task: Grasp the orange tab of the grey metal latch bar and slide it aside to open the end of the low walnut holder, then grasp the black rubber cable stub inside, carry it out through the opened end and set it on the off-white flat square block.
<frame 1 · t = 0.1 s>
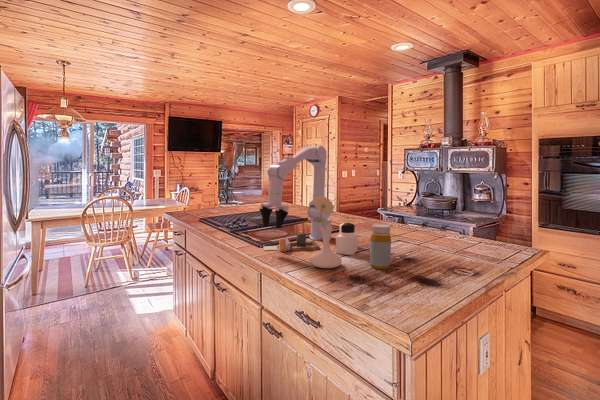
hand: (272, 227, 139), 10 cm above the counter, tool pointing down, fingers open, 7 cm apart
off-white flat square block: (270, 248, 145), on the counter
latch bar: (283, 242, 145), point 3 cm above the counter, slide at 0.0 cm
medicine bottle: (346, 252, 140), on the counter
walnut holder: (303, 247, 148), on the counter
flower in vase: (324, 265, 123), on the counter
bottle: (379, 267, 121), on the counter
cable stub: (301, 247, 148), resting in walnut holder
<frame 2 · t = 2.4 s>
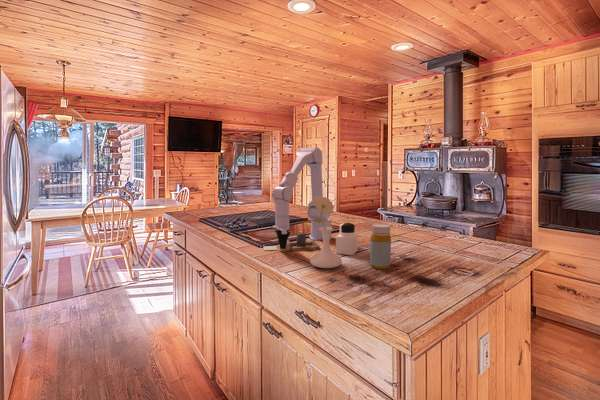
hand: (282, 247, 142), 1 cm above the counter, tool pointing down, fingers closed on latch bar, 3 cm apart
latch bar: (283, 242, 145), point 3 cm above the counter, slide at 0.0 cm, touching gripper
everything else where it was.
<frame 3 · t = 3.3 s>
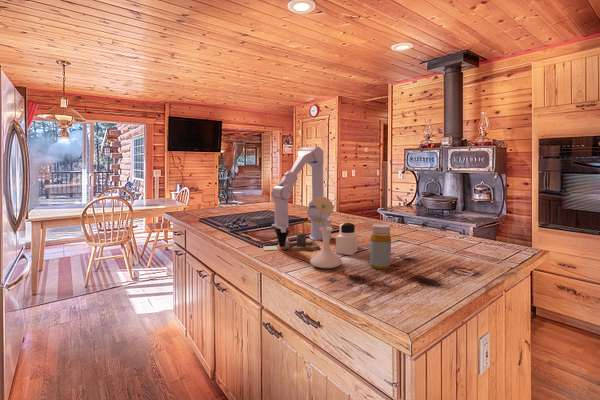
hand: (281, 245, 145), 1 cm above the counter, tool pointing down, fingers closed on latch bar, 3 cm apart
latch bar: (282, 240, 148), point 3 cm above the counter, slide at 3.2 cm, touching gripper
everything else where it was.
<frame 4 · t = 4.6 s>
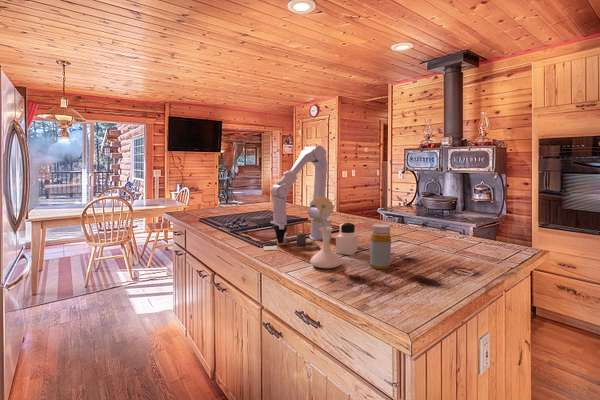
hand: (280, 242, 151), 1 cm above the counter, tool pointing down, fingers closed on latch bar, 2 cm apart
latch bar: (281, 237, 155), point 3 cm above the counter, slide at 9.5 cm, touching gripper
everything else where it was.
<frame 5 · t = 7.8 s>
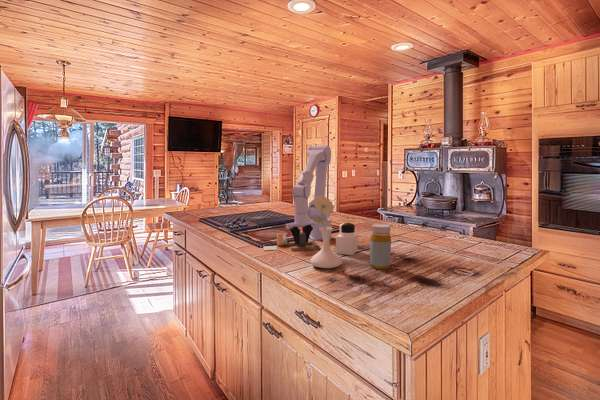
hand: (301, 243, 147), 2 cm above the counter, tool pointing down, fingers closed on cable stub, 4 cm apart
latch bar: (281, 237, 155), point 3 cm above the counter, slide at 9.5 cm
cable stub: (301, 247, 148), resting in walnut holder, touching gripper
everything else where it was.
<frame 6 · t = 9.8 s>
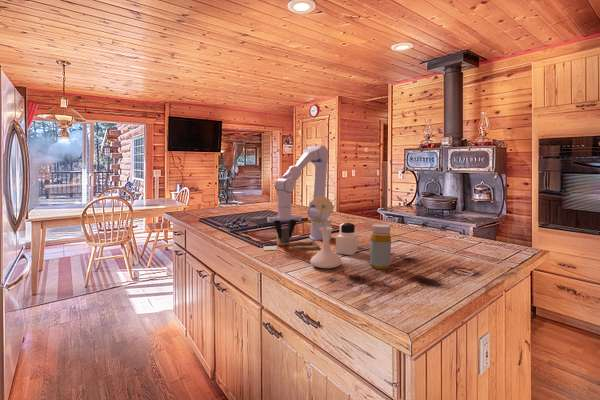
hand: (284, 237, 146), 4 cm above the counter, tool pointing down, fingers closed on cable stub, 4 cm apart
cable stub: (284, 241, 146), point 3 cm above the counter, touching gripper
everything else where it was.
when the fingers open (3 cm above the counter, at t = 11.6 s): cable stub stays where it is, resting on off-white flat square block.
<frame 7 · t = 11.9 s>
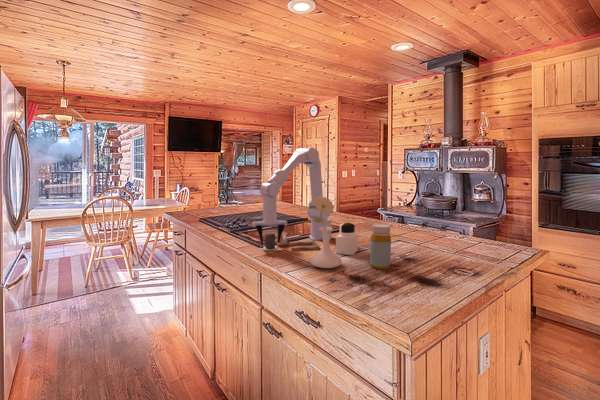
hand: (270, 242, 145), 3 cm above the counter, tool pointing down, fingers open, 6 cm apart
cable stub: (270, 247, 145), resting on off-white flat square block
everything else where it was.
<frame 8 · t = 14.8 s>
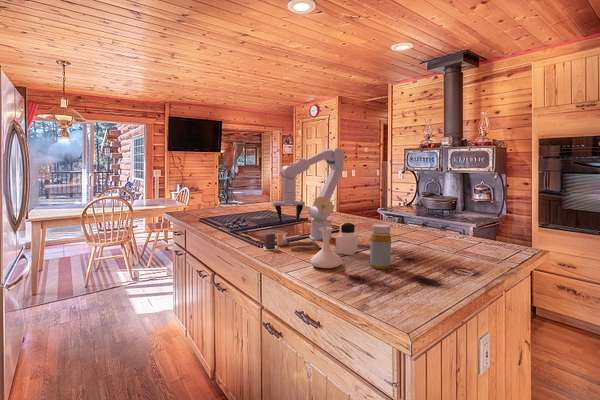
hand: (288, 221, 155), 9 cm above the counter, tool pointing down, fingers open, 7 cm apart
nothing on the counter moved.
at the end: cable stub 0.0 cm off-centre on the off-white flat square block, point 0.3 cm above the off-white flat square block's base; cable stub tilted 0°; latch bar slide at 9.5 cm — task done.
